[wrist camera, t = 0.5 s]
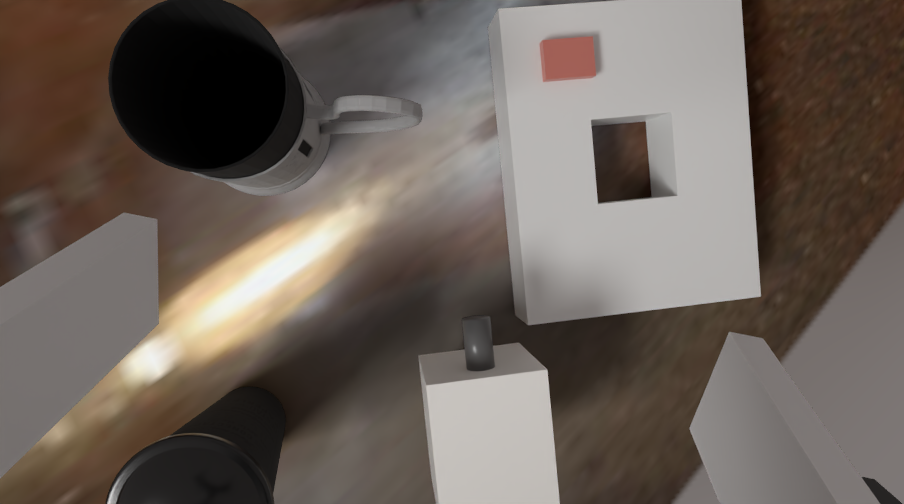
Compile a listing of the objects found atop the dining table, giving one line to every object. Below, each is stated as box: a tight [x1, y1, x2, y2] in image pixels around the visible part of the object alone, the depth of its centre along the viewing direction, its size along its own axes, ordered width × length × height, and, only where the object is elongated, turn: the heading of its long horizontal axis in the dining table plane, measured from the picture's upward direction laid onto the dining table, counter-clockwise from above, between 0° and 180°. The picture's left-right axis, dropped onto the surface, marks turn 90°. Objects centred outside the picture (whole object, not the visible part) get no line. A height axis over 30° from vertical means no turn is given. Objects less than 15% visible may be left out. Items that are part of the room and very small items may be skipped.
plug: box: [418, 315, 560, 504], centre depth 39 cm, size 11×6×11 cm, turn 6°
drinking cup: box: [106, 387, 286, 504], centre depth 33 cm, size 8×8×20 cm
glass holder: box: [108, 0, 422, 196], centre depth 35 cm, size 9×14×15 cm, turn 87°
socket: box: [488, 0, 761, 325], centre depth 42 cm, size 20×16×5 cm
